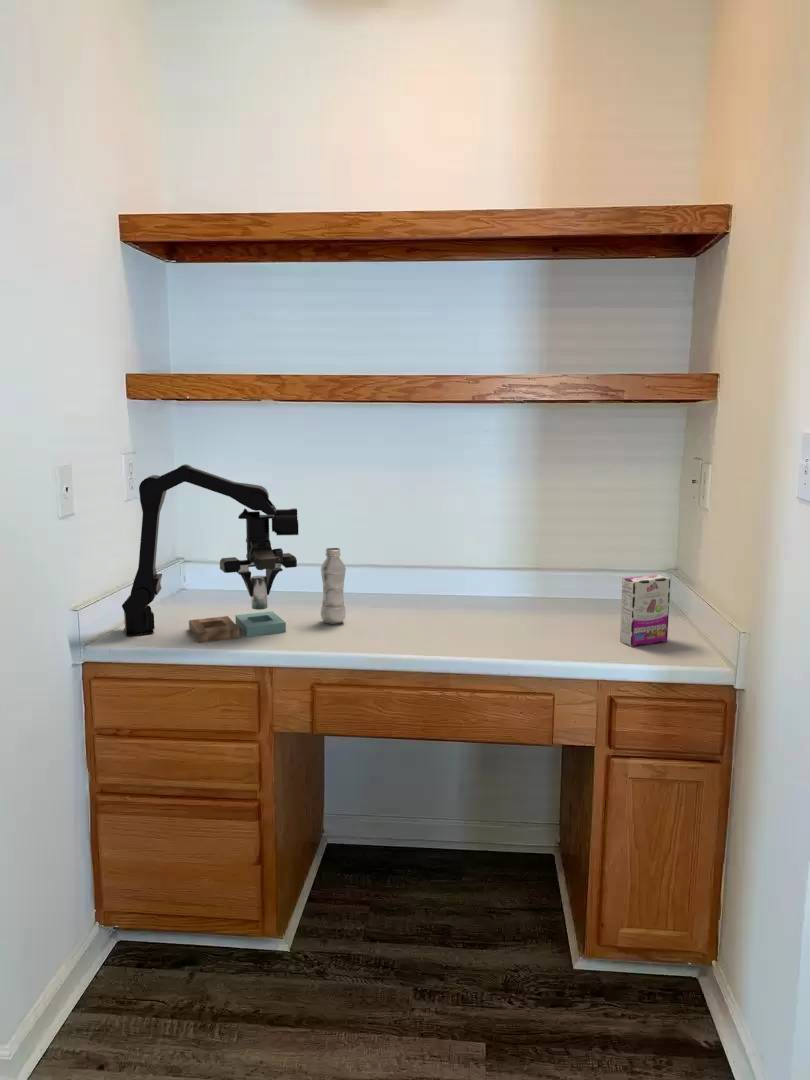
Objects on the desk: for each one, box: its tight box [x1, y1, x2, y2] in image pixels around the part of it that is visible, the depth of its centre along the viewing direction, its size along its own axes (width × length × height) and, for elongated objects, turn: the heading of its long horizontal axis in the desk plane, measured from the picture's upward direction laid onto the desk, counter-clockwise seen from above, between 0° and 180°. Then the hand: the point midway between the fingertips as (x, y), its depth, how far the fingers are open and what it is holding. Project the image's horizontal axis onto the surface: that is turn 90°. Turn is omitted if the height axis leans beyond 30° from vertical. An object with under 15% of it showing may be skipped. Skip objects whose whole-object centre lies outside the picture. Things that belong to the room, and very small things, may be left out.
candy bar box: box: [619, 574, 671, 647], centre depth 194 cm, size 11×5×16 cm, turn 112°
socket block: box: [188, 615, 240, 644], centre depth 199 cm, size 10×12×2 cm
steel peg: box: [250, 575, 268, 611], centre depth 202 cm, size 4×4×8 cm
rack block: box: [235, 611, 287, 638], centre depth 204 cm, size 10×12×2 cm
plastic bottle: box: [320, 547, 347, 624], centre depth 208 cm, size 6×7×20 cm
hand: (259, 595), depth 202 cm, fingers closed on steel peg, 4 cm apart
